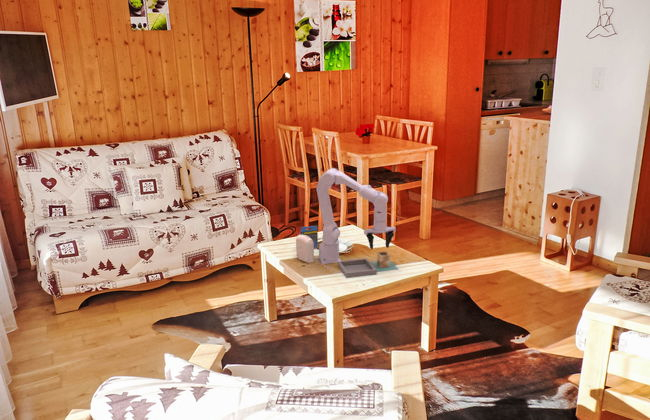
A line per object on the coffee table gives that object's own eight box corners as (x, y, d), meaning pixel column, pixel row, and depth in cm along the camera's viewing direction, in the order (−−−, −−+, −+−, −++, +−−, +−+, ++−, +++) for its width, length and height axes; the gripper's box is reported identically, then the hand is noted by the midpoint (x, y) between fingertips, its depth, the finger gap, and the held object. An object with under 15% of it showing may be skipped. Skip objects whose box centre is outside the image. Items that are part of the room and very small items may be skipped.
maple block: (380, 268, 235) (380, 255, 233) (377, 264, 239) (377, 252, 237) (389, 267, 236) (389, 255, 234) (386, 263, 240) (386, 251, 238)
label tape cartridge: (316, 245, 265) (315, 223, 261) (318, 248, 261) (317, 225, 258) (299, 247, 262) (298, 224, 259) (301, 250, 259) (300, 227, 255)
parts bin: (346, 278, 225) (346, 273, 225) (338, 266, 238) (337, 261, 238) (376, 275, 229) (376, 269, 228) (366, 263, 242) (366, 258, 241)
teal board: (375, 272, 231) (375, 271, 231) (367, 263, 241) (367, 262, 241) (398, 270, 234) (398, 269, 234) (389, 261, 244) (389, 260, 244)
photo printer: (295, 257, 249) (294, 233, 246) (302, 255, 252) (301, 232, 248) (308, 264, 241) (307, 239, 238) (315, 261, 244) (314, 237, 240)
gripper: (367, 223, 227) (367, 252, 231) (398, 221, 231) (397, 249, 234) (362, 218, 234) (362, 246, 238) (392, 216, 237) (391, 243, 241)
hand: (379, 247), depth 237 cm, fingers open, 7 cm apart
